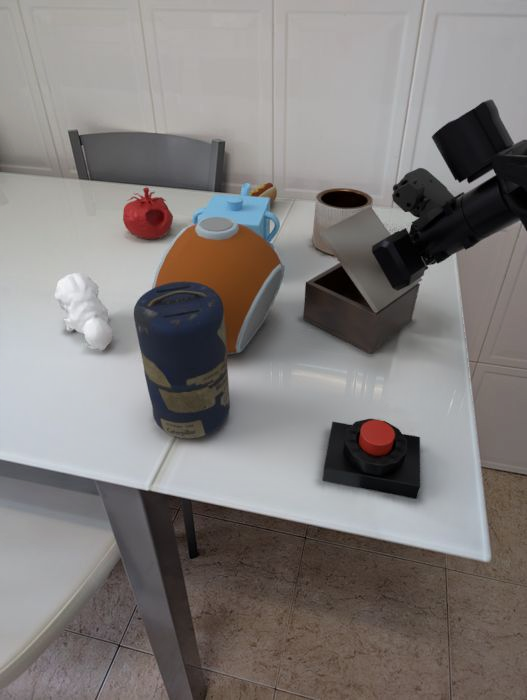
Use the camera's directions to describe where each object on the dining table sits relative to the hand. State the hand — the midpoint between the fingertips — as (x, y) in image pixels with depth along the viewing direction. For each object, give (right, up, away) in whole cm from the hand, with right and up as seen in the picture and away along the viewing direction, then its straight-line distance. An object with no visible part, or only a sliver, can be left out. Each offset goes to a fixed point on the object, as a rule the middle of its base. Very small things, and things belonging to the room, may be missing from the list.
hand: (382, 266), depth 70 cm
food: (-19, +19, +42) cm, 50 cm away
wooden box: (-2, -7, +8) cm, 11 cm away
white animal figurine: (-43, -10, +5) cm, 44 cm away
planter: (-2, +9, +29) cm, 30 cm away
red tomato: (-40, +12, +33) cm, 54 cm away
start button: (-5, -22, -17) cm, 28 cm away
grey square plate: (-1, +1, +1) cm, 2 cm away
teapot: (-21, +5, +24) cm, 33 cm away
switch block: (-5, -25, -14) cm, 29 cm away
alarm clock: (-23, -9, +6) cm, 26 cm away
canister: (-26, -20, -8) cm, 34 cm away
